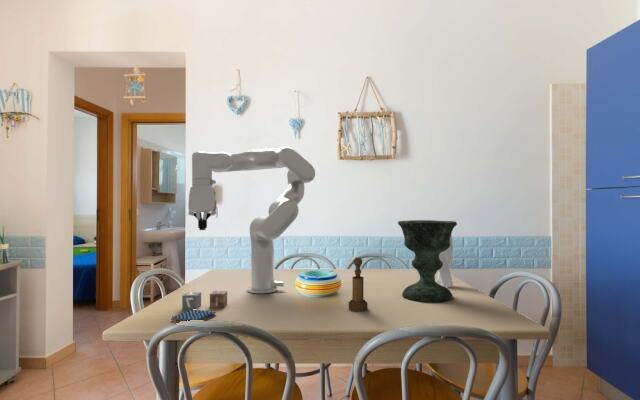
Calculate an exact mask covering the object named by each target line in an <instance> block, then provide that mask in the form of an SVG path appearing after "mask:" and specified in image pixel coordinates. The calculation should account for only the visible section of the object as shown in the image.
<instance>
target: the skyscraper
mask: <svg viewBox="0 0 640 400" xmlns="http://www.w3.org/2000/svg"><path fill="white" fill-rule="evenodd" d="M453 254H454V245H453V236H452V234H451V237H450V247H449V248H448V249H447V250H445V251H443V252H441V253H440V254H439V259H440V261H442V263H443V265H442V268H441V269H440V270H438V271H437V276H436V277H437V278H436V277H435V276H434V280H435V282H436V283H437V284H439V285H441V286H444V287H449V288H453V287H454V284H453V279H452V274H451V270H450V269H451V266H452V262H453V261H452V260H453V256H454V255H453ZM452 286H453V287H452Z"/></svg>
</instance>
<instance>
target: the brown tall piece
mask: <svg viewBox="0 0 640 400" xmlns="http://www.w3.org/2000/svg"><path fill="white" fill-rule="evenodd" d="M353 264H354V266H355V269H354V276H352V277H351V278H352V279H351V280H352V295H351V296H352V297H351V298H352V299H351V300H349V301H348V310H349V311H351V312H366V311H368V307H369V306H368V302H367V301H366V300H365V299H364V297H365V296H364V276H361V274H362V269H361V266H362V264H363V259H362V258H361V257H355V258H354V259H353Z"/></svg>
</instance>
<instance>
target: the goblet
mask: <svg viewBox="0 0 640 400" xmlns="http://www.w3.org/2000/svg"><path fill="white" fill-rule="evenodd" d="M397 224H398V226H399V227H400V228H401V231H402V234H403V237H404V238H403V239H404V242H403V244H404V245H403V246H405V248H407V250H409V251H411V252H413V253H414V258H413V259H412V260H411V266H412V268H414V269H416V271H417V272H418V274H419V279H418V281H417V282H414V283H413V284H410V285H408V286H406V287H405V288H404V290H403V291H402V294H401V295H402V297H403V298H405V299H409V300H413V301H418V302H426V303H427V302H429V303H437V302H438V303H439V302H440V303H441V302H447V301H451V300H453V299H454V296H453V294H452V292H451V290H450V288H446V287H444V286H441V285H439V284H437V283H436V279H435V280H434V276H435V275H436V273H438V270H440V269H441V268H442V265H443V263H442V261H440V259H439V254H440V253H441V252H443V251H445V250H447V249H448V248H449V247H450V237H451V235H452V233H453V231H454V228H455V227H456V226H458V223H457V221H455V220H454V221H453V220H436V219H435V220H429V219H427V220H426V219H425V220H424V219H422V220H421V219H420V220H419V219H415V220H398V221H397Z"/></svg>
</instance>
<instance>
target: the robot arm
mask: <svg viewBox="0 0 640 400" xmlns="http://www.w3.org/2000/svg"><path fill="white" fill-rule="evenodd" d="M283 168H287V173H286V174H287V175H286V177H287V178H286V179H287V186H286V188H285V190H284V191H283V192H282V193H281V194H280V195H279V196H278V197H277V198H276V199H275V200H274V201H272V203H271V204H270V205H269V207H268V216H264V215H262V216H257V217H255V218H254V219H253V220H252V221H251V222H250V224H249V238H250V246H251V247H250V249H251V252H250V254H251V255H250V259H251V260H250V261H251V262H250V270H251V271H250V272H251V273H250V278H251V279H250V280H251V281H250V286H249V287H247V292H249V293H251V294H268V293H269V294H270V293H274V292H276V291H278V287H280V288H281V287H283V288H284V287H285V282H284V281H281V280H280V281H277V280H276V278H275V275H274V274H275V273H274V263H275V259H274V254H275V249H274V240H276V239H277V238H279V237H281V236H282V234H284V232H285V231H286V230H287V229H288V228H289V227H290V226H291V225H292V224H293V223H294V222H295V220H296V219H297V217H298V214H299V204H300V202H301V201H302V199H303V198H304V195H305V184H308V183H311V182H312V181H313V180H314V179H315V177H316V170H315V168H314V166H313V164H311V163H310V162H309V161H308V160H307V159H306V158H305V157H303V156H302V155H301V154H300V153H299V152H297V151H296V150H295V149H293V148H292V147H289V146H281V147H280V148H269V149H267V148H264V149H251V150H250V149H249V150H246V151H243V152H237V153H228V152H226V151H225V152H224V151H220V152H219V151H218V152H208V151H207V152H206V151H195V152H192V155H191V187H190V188H189V194H188V203H187V204H188V213H187V214H188V216H192V217H195V219H196V220H197V221H198V222H197V228H198V229H199V231H206V229H207V228H208V219H209V218H210V217H211V216H215V215H217V194H216V189H215V187H214V186H213V185H215V184H217V183H216V182H217V181H216V180H215V179H214V180H213V173H229V172H230V173H231V172H240V171H243V172H245V171H259V170H268V169H269V170H270V169H283ZM202 213H203V216H202Z"/></svg>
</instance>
